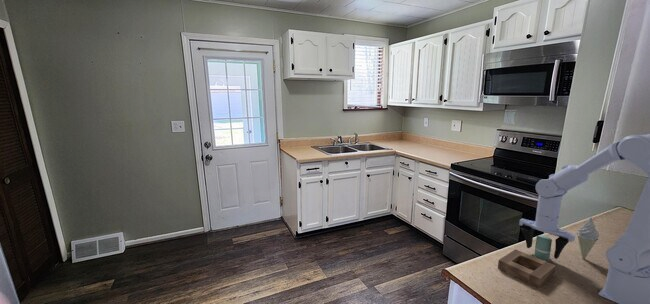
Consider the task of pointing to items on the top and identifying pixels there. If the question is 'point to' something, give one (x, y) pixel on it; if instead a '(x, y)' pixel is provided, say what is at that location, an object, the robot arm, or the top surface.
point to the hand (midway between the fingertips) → (542, 252)
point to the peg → (543, 247)
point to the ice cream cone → (587, 237)
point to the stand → (536, 277)
